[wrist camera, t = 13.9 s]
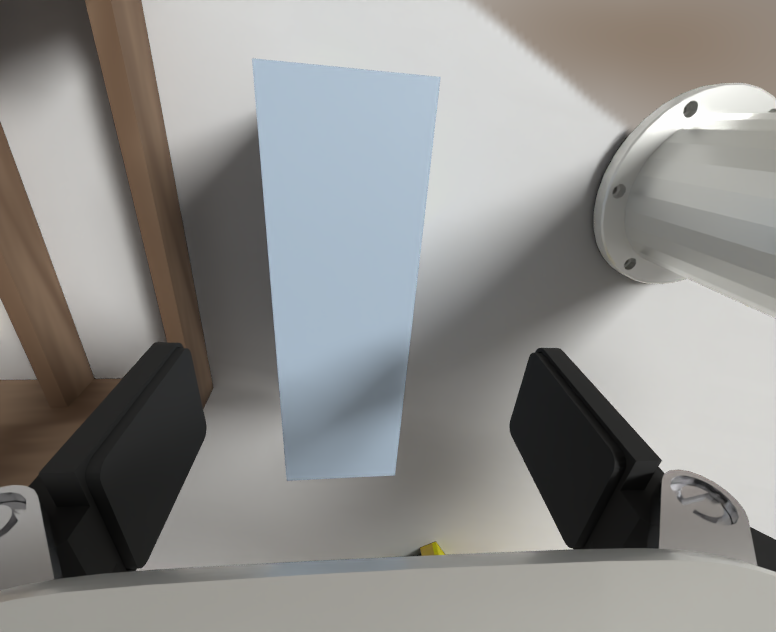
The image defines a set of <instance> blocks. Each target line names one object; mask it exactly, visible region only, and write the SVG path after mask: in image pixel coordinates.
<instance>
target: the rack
mask: <svg viewBox="0 0 776 632" xmlns="http://www.w3.org/2000/svg"><path fill="white" fill-rule="evenodd" d="M85 3H86V7H87V12H88V16H89V20H90V24H91V28H92V32H93V36H94V41H95V45H96V49H97V53H98V57H99V61H100V65H101V70H102V74H103V78H104V82H105V86H106V90H107V95H108V99H109V103H110V107H111V111H112V115H113V119H114V124H115V128H116V132H117V136H118V140H119V144H120V148H121V153H122V157H123V161H124V165H125V169H126V173H127V178H128V182H129V186H130V190H131V194H132V198H133V202H134V207H135V211H136V215H137V219H138V223H139V227H140V231H141V236H142V240H143V244H144V248H145V252H146V256H147V260H148V265H149V269H150V273H151V277H152V281H153V285H154V290H155V294H156V298H157V302H158V306H159V310H160V314H161V319H162V323H163V327H164V331H165V335H166V339H167V343H181V344H182V345H183V347H184V348H188V349H189V350H190V352H191V355H192V360H193V365H194V369H195V374H196V379H197V384H198V388H199V393H200V398H201V402H202V407H203V409H204V407H205V405H206V402H207V400H208V398H209V396H210V394H211V392H212V390H213V383H212V378H211V373H210V367H209V362H208V356H207V351H206V346H205V340H204V335H203V330H202V324H201V319H200V314H199V308H198V303H197V297H196V292H195V287H194V281H193V276H192V271H191V265H190V260H189V254H188V249H187V244H186V238H185V233H184V228H183V222H182V217H181V211H180V206H179V201H178V195H177V190H176V185H175V179H174V174H173V168H172V163H171V158H170V152H169V147H168V142H167V136H166V131H165V125H164V120H163V115H162V109H161V104H160V99H159V93H158V88H157V82H156V77H155V72H154V66H153V61H152V56H151V50H150V45H149V39H148V34H147V29H146V23H145V18H144V13H143V7H142V2H141V0H85ZM0 298H1V300H2V302H3V304H4V307H5V309H6V311H7V313H8V315H9V318H10V320H11V322H12V324H13V326H14V329H15V331H16V333H17V335H18V337H19V340H20V342H21V344H22V346H23V348H24V351H25V353H26V355H27V357H28V359H29V362H30V364H31V366H32V368H33V370H34V373H35V375H36V377H37V379H38V380H0V487H4V486H10V485H23V486H27V487H28V486H29V485H30V484H31V483H32V482H33V481H34V479H35V478H36V477H37V476H38V475H39V472H40V471H41V470H42V468H43V467H44V466H45V465H46V464H47V463H48V462H49V461H50V459H51V458H52V457H53V456H54V455H55V454H56V453H57V452H58V450H59V449H60V448H61V447H62V446H63V445H64V444H65V443H66V441H67V440H68V439H69V438H70V437H71V436H72V435H73V434H74V432H75V431H76V430H77V429H78V428H79V427H80V426H81V425H82V423H83V422H84V421H85V420H86V419H87V418H88V417H89V416H90V414H91V413H92V412H93V411H94V410H95V409H96V408H97V407H98V406H99V404H100V403H101V402H102V401H103V400H104V399H105V398H106V397H107V395H108V394H109V393H110V392H111V391H112V390H113V389H114V388H115V386H116V385H117V384H118V383H119V382H120V381H121V380H122V379H94V376H93V374H92V371H91V368H90V365H89V363H88V360H87V357H86V354H85V352H84V349H83V346H82V344H81V341H80V338H79V335H78V333H77V330H76V327H75V324H74V322H73V319H72V316H71V314H70V311H69V308H68V305H67V303H66V300H65V297H64V294H63V292H62V289H61V286H60V284H59V281H58V278H57V275H56V273H55V270H54V267H53V265H52V262H51V259H50V256H49V254H48V251H47V248H46V245H45V243H44V240H43V237H42V235H41V232H40V229H39V226H38V224H37V221H36V218H35V215H34V213H33V210H32V207H31V205H30V202H29V199H28V196H27V194H26V191H25V188H24V185H23V183H22V180H21V177H20V175H19V172H18V169H17V166H16V164H15V161H14V158H13V155H12V153H11V150H10V147H9V145H8V142H7V139H6V136H5V134H4V131H3V128H2V125H1V123H0Z"/></svg>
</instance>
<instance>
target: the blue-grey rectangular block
mask: <svg viewBox="0 0 776 632" xmlns="http://www.w3.org/2000/svg"><path fill="white" fill-rule="evenodd" d="M252 63H253V75H254V87H255V99H256V111H257V124H258V136H259V148H260V160H261V172H262V185H263V197H264V209H265V221H266V233H267V246H268V258H269V270H270V282H271V294H272V307H273V319H274V331H275V343H276V355H277V367H278V380H279V392H280V404H281V416H282V428H283V441H284V453H285V465H286V477H287V481H291V480H311V479H331V478H351V477H371V476H391V475H395V470H396V461H397V453H398V444H399V435H400V426H401V418H402V409H403V400H404V391H405V383H406V374H407V365H408V357H409V348H410V339H411V330H412V322H413V313H414V304H415V295H416V287H417V278H418V269H419V260H420V252H421V243H422V234H423V226H424V217H425V208H426V199H427V191H428V182H429V173H430V164H431V156H432V147H433V138H434V129H435V121H436V112H437V103H438V95H439V86H440V77H435V76H425V75H415V74H405V73H395V72H384V71H374V70H364V69H354V68H344V67H334V66H324V65H314V64H303V63H293V62H283V61H273V60H263V59H253V58H252Z"/></svg>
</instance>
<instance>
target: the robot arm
mask: <svg viewBox="0 0 776 632" xmlns="http://www.w3.org/2000/svg"><path fill="white" fill-rule="evenodd" d="M594 233H595V238H596V243H597V246H598V248H599V250H600V252H601V254H602V256H603V258H604V259H605V260H606V261H607V262H608V264H609V265H610V266H611V267H612V268H614V269H615V270H617V271H618V272H619V273H621V274H623V275H625V276H627V277H629V278H631V279H633V280H635V281H639V282H643V283H647V284H667V283H673V282H678V281H681V280H684V279H689V280H691V281H694V282H696V283H698V284H700V285H702V286H705V287H707V288H709V289H711V290H713V291H716V292H718V293H720V294H722V295H724V296H727V297H729V298H731V299H733V300H735V301H738V302H740V303H742V304H744V305H746V306H749V307H751V308H753V309H755V310H757V311H760V312H762V313H764V314H766V315H768V316H771V317H773V318H775V319H776V99H775V97H774V96H773V95H771V94H769V93H768V92H767V91H765V90H763V89H762V88H760V87H757V86H753V85H749V84H745V83H723V84H716V85H709V86H702V87H699V88H697V89H693V90H691V91H688V92H685V93H682V94H681V95H679V96H677V97H675V98H673V99H672V100H670V101H668V102H666V103H665V104H663V105H661V106H660V107H659V108H658V109H656V110H655V111H654V112H653V113H651V114H650V115H649V116H648V117H646V118H645V119H644V120H643V121H642V122H641V123H640V124H639V125H638V126H637V127H636V128H635V129H634V130H633V131H632V132H631V133H630V135H629V136H628V137H627V138H626V140H625V141H624V142H623V144H622V145H621V146H620V148H619V149H618V151H617V152H616V153H615V155H614V157H613V159H612V160H611V162H610V164H609V166H608V168H607V170H606V172H605V174H604V176H603V179H602V182H601V184H600V187H599V190H598V193H597V197H596V203H595V208H594ZM510 433H511V436H512V438H513V440H514V442H515V444H516V446H517V448H518V450H519V452H520V454H521V456H522V458H523V460H524V462H525V464H526V466H527V468H528V470H529V472H530V474H531V476H532V478H533V480H534V482H535V484H536V486H537V488H538V490H539V492H540V494H541V496H542V498H543V500H544V502H545V504H546V506H547V508H548V510H549V512H550V514H551V516H552V518H553V520H554V522H555V524H556V526H557V528H558V530H559V532H560V534H561V536H562V538H563V540H564V542H565V543H566V545H567V546H568V547H570V548H573V549H574V550H548V551H524V552H500V553H475V554H452V555H430V556H408V557H387V558H366V559H345V560H324V561H304V562H285V563H266V564H247V565H228V566H209V567H190V568H176V569H161V570H147V571H136V569H137V568H142V567H143V566H144V565H145V564H146V562H147V561H148V559H149V557H150V555H151V552H152V550H153V548H154V546H155V544H156V542H157V540H158V537H159V535H160V533H161V531H162V529H163V527H164V524H165V522H166V520H167V518H168V516H169V514H170V512H171V509H172V507H173V505H174V503H175V501H176V499H177V497H178V494H179V492H180V490H181V488H182V486H183V484H184V482H185V479H186V477H187V475H188V473H189V471H190V469H191V467H192V464H193V462H194V460H195V458H196V456H197V454H198V452H199V449H200V447H201V445H202V443H203V441H204V438H205V435H206V421H205V416H204V412H203V407H202V402H201V398H200V393H199V388H198V384H197V379H196V374H195V369H194V365H193V360H192V355H191V352H190V350H189V349H188V348H184V347H183V345H182V344H181V343H166V342H157V343H154V344H153V345H152V346H151V347H150V348H149V349H148V350H147V352H146V353H145V354H144V355H143V356H142V357H141V358H140V359H139V361H138V362H137V363H136V364H135V365H134V366H133V367H132V368H131V370H130V371H129V372H128V373H127V374H126V375H125V376H124V377H123V379H122V380H121V381H120V382H119V383H118V384H117V385H116V386H115V388H114V389H113V390H112V391H111V392H110V393H109V394H108V395H107V397H106V398H105V399H104V400H103V401H102V402H101V403H100V404H99V406H98V407H97V408H96V409H95V410H94V411H93V412H92V413H91V414H90V416H89V417H88V418H87V419H86V420H85V421H84V422H83V423H82V425H81V426H80V427H79V428H78V429H77V430H76V431H75V432H74V434H73V435H72V436H71V437H70V438H69V439H68V440H67V441H66V443H65V444H64V445H63V446H62V447H61V448H60V449H59V450H58V452H57V453H56V454H55V455H54V456H53V457H52V458H51V459H50V461H49V462H48V463H47V464H46V465H45V466H44V467H43V468H42V470H41V471H40V472H39V475H38V476H37V477H36V478H35V479H34V481H33V482H32V483H31V484H30V485H29V486H28V487H27V486H23V485H10V486H4V487H0V632H776V540H775V539H773V538H771V537H769V536H767V535H765V534H763V533H761V532H759V531H757V530H755V529H753V528H751V527H750V525H749V520H748V517H747V515H746V512H745V510H744V509H743V507H742V506H741V505H740V504H739V502H738V501H737V500H736V499H735V498H734V497H733V496H732V495H731V494H730V493H728V492H727V491H726V490H725V489H723V488H722V487H720V486H719V485H718V484H716V483H715V482H713V481H711V480H709V479H707V478H705V477H703V476H701V475H698V474H696V473H693V472H690V471H684V470H670V471H668V472H666V473H665V474H664V472H663V471H662V470H661V469H660V468H659V467H658V466H659V464H660V463H661V461H662V460H661V459H660V458H659V457H658V456H657V455H656V453H655V452H654V451H653V450H652V449H651V448H650V447H649V446H648V445H647V443H646V442H645V441H644V440H643V439H642V438H641V437H640V436H639V435H638V434H637V432H636V431H635V430H634V429H633V428H632V427H631V426H630V425H629V424H628V422H627V421H626V420H625V419H624V418H623V417H622V416H621V415H620V414H619V413H618V411H617V410H616V409H615V408H614V407H613V406H612V405H611V404H610V403H609V401H608V400H607V399H606V398H605V397H604V396H603V395H602V394H601V393H600V392H599V390H598V389H597V388H596V387H595V386H594V385H593V384H592V383H591V382H590V380H589V379H588V378H587V377H586V376H585V375H584V374H583V373H582V372H581V371H580V369H579V368H578V367H577V366H576V365H575V364H574V363H573V362H572V361H571V360H570V358H569V357H568V356H567V355H566V354H565V353H564V352H563V351H562V350H561V349H559V348H539V349H537V350H536V352H535V353H532V354H531V355H530V357H529V360H528V363H527V366H526V370H525V373H524V377H523V380H522V383H521V387H520V390H519V393H518V397H517V400H516V403H515V407H514V410H513V413H512V417H511V420H510Z"/></svg>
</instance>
